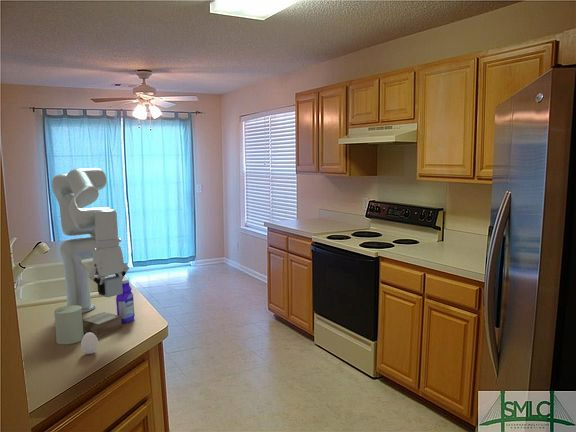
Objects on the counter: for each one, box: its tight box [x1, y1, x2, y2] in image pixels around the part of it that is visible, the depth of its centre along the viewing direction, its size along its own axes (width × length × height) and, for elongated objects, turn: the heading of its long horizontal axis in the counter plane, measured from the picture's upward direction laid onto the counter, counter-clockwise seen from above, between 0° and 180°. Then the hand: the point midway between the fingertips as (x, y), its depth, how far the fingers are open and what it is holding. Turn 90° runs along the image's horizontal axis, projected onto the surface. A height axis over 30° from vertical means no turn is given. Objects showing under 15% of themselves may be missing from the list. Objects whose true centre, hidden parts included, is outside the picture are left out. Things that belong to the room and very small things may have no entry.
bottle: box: [115, 277, 135, 324], centre depth 180 cm, size 7×6×17 cm
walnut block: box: [82, 311, 123, 337], centre depth 171 cm, size 10×10×5 cm
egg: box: [80, 332, 99, 355], centre depth 149 cm, size 5×5×7 cm
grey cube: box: [98, 274, 123, 298], centre depth 161 cm, size 6×6×6 cm
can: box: [53, 305, 85, 345], centre depth 162 cm, size 9×9×12 cm
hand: (110, 291), depth 161 cm, fingers closed on grey cube, 6 cm apart
